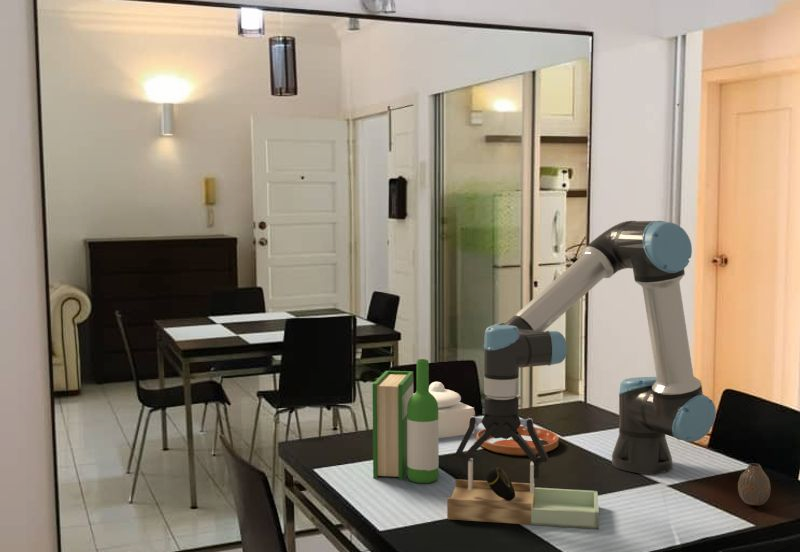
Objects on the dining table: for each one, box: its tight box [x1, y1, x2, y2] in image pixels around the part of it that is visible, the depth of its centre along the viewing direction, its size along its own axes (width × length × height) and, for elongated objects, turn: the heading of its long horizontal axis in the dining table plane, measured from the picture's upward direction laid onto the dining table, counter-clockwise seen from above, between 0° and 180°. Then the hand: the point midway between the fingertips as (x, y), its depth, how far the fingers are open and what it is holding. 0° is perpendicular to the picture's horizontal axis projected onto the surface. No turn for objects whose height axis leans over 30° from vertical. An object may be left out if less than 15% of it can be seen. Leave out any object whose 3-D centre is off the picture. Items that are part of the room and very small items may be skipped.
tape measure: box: [485, 466, 515, 501], centre depth 195 cm, size 7×7×4 cm
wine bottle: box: [406, 358, 440, 484], centre depth 218 cm, size 8×8×30 cm
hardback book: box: [372, 370, 414, 481], centre depth 227 cm, size 18×7×24 cm, turn 170°
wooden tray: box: [446, 478, 535, 526], centre depth 196 cm, size 18×14×4 cm
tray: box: [531, 487, 600, 530], centre depth 193 cm, size 14×15×4 cm
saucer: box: [476, 425, 560, 456], centre depth 248 cm, size 23×23×4 cm
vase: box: [737, 462, 771, 506], centre depth 201 cm, size 7×7×9 cm
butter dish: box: [413, 381, 476, 439], centre depth 263 cm, size 18×18×16 cm
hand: (501, 490), depth 196 cm, fingers open, 13 cm apart
